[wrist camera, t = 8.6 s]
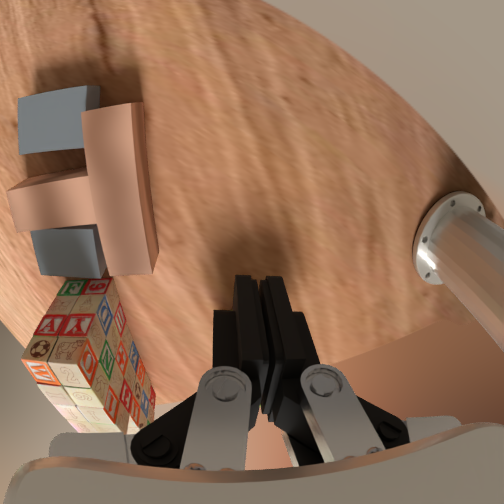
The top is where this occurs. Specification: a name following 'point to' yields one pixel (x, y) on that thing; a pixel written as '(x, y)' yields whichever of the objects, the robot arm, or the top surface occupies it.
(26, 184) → the t block
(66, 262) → the t dock
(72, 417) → the stack of blocks
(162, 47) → the top surface
